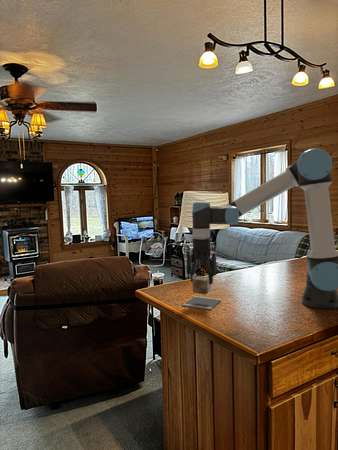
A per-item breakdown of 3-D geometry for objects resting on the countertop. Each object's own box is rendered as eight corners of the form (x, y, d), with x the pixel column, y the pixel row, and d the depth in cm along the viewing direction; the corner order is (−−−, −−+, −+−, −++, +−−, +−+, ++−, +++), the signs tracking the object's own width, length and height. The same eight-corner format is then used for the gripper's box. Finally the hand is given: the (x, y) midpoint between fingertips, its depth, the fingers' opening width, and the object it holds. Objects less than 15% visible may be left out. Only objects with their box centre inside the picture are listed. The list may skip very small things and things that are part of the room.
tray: (221, 301, 150) (221, 299, 150) (210, 311, 139) (210, 308, 139) (194, 298, 156) (194, 296, 156) (182, 306, 145) (182, 304, 145)
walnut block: (210, 290, 149) (210, 277, 148) (205, 294, 143) (205, 280, 143) (198, 289, 151) (198, 276, 151) (192, 292, 146) (192, 279, 145)
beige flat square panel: (237, 305, 145) (237, 304, 145) (231, 312, 137) (231, 311, 137) (217, 302, 149) (217, 302, 149) (210, 309, 141) (210, 308, 141)
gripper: (225, 237, 144) (225, 290, 146) (185, 235, 153) (185, 285, 155) (219, 240, 137) (219, 295, 139) (177, 237, 146) (178, 289, 148)
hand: (201, 290), depth 147 cm, fingers closed on walnut block, 6 cm apart
